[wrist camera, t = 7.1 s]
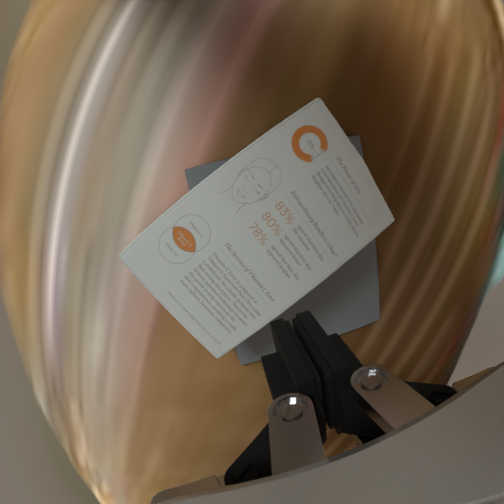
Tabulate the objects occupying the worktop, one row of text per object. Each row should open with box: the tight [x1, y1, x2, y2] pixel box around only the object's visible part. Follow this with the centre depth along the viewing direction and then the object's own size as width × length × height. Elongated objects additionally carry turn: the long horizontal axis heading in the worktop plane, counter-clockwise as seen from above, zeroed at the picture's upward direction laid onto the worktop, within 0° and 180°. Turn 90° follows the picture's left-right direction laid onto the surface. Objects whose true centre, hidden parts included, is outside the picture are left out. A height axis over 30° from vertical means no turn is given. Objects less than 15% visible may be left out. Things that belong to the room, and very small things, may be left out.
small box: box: [119, 98, 395, 359], centre depth 17 cm, size 8×6×13 cm
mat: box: [185, 135, 380, 365], centre depth 22 cm, size 16×13×1 cm
